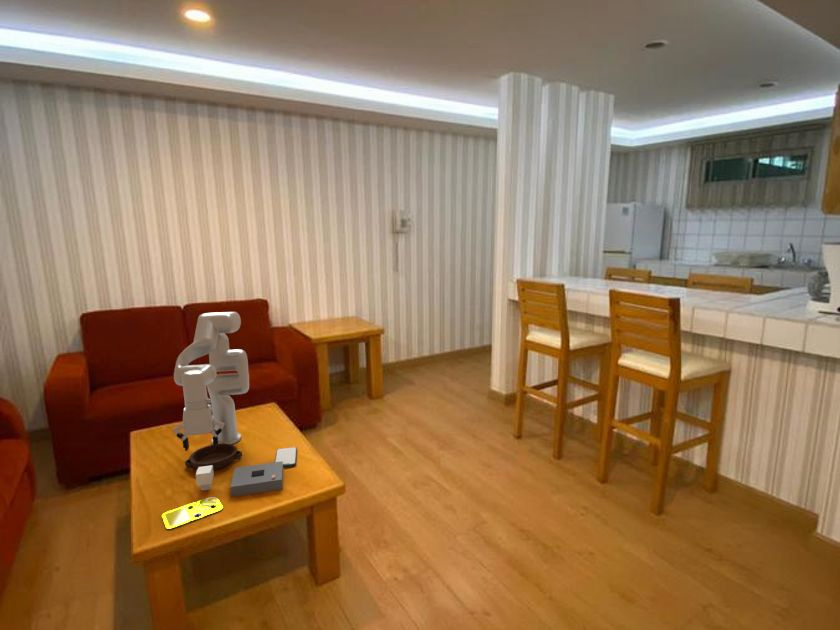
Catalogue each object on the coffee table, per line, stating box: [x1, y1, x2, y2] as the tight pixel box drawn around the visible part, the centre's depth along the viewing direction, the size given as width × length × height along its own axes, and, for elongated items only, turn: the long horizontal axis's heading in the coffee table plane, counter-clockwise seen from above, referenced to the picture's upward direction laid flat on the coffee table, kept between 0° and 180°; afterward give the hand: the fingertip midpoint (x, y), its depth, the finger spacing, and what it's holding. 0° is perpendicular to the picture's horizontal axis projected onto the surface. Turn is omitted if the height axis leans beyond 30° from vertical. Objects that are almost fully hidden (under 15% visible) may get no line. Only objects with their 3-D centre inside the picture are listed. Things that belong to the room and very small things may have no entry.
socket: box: [230, 461, 284, 498], centre depth 177 cm, size 14×18×5 cm
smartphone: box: [274, 446, 298, 469], centre depth 195 cm, size 9×2×16 cm
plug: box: [195, 465, 215, 491], centre depth 174 cm, size 6×5×8 cm
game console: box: [161, 496, 224, 531], centre depth 159 cm, size 18×11×2 cm, turn 129°
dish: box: [184, 443, 243, 471], centre depth 192 cm, size 18×22×5 cm
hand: (201, 447), depth 171 cm, fingers open, 9 cm apart
